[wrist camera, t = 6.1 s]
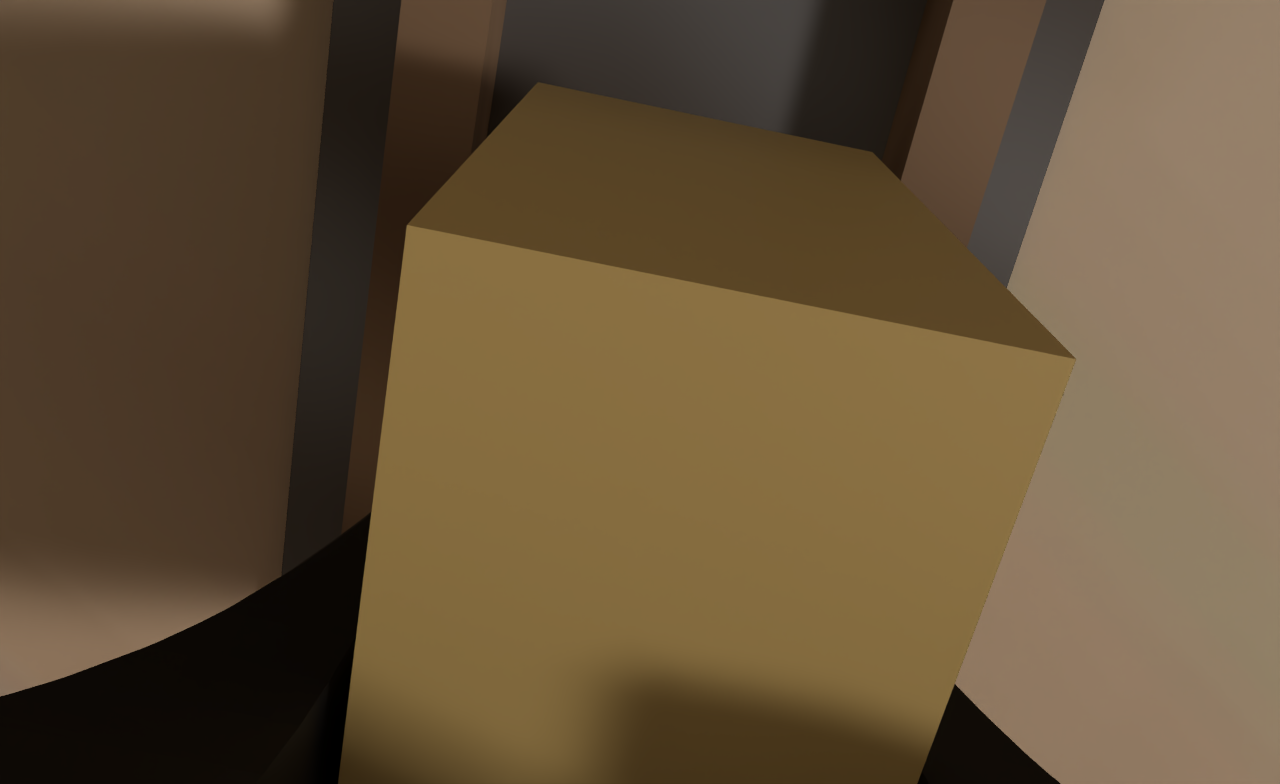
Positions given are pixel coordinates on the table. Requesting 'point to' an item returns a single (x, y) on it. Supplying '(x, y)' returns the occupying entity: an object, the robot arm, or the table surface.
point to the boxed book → (684, 462)
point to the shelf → (661, 77)
